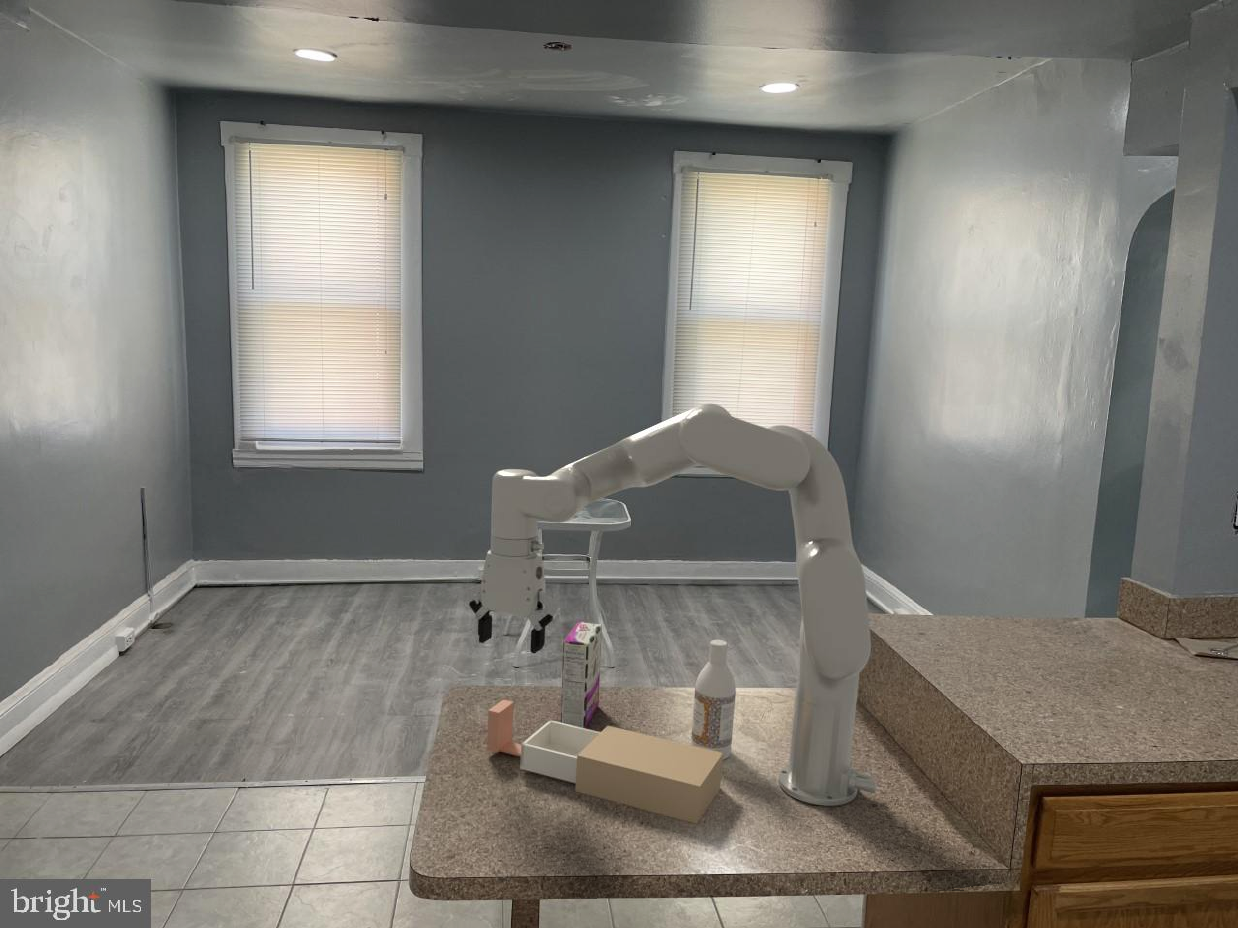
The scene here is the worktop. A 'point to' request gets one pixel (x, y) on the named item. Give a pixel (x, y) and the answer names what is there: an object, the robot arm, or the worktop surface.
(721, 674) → the bath foam
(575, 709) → the candy bar box
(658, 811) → the sleeve
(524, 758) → the tray
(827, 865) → the worktop surface
